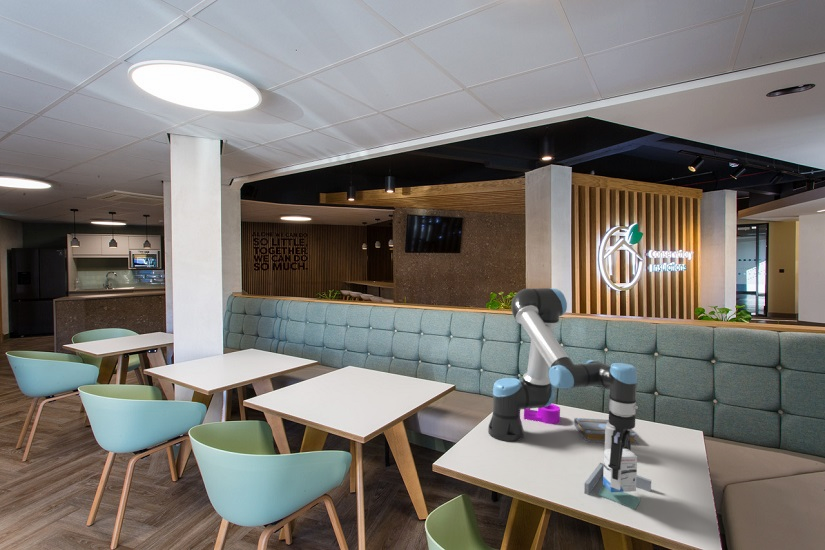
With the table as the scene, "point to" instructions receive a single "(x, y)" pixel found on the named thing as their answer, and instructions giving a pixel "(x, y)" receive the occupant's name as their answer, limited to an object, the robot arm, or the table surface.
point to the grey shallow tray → (596, 430)
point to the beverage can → (608, 435)
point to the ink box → (622, 471)
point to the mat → (620, 497)
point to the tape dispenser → (544, 414)
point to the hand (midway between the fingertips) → (619, 481)
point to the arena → (598, 472)
